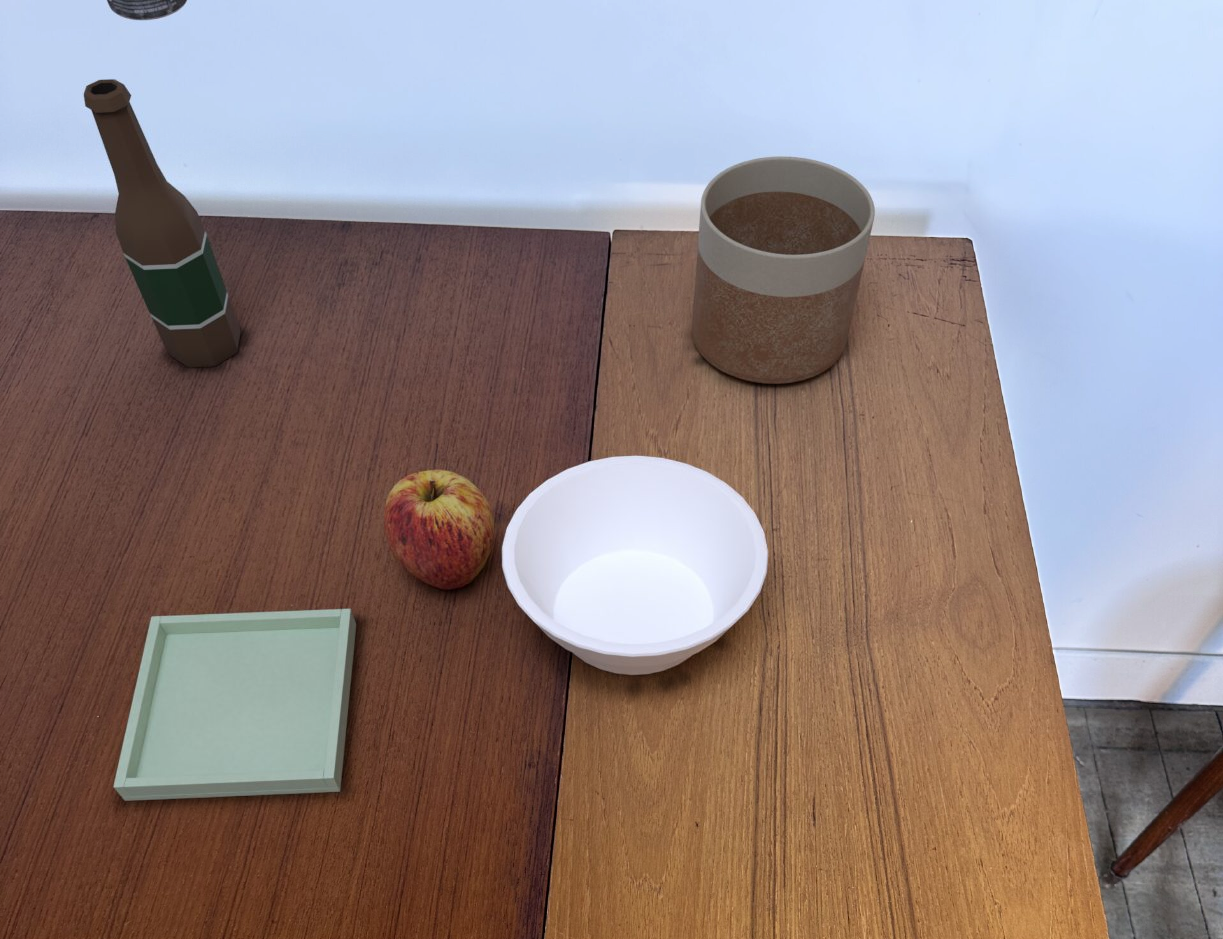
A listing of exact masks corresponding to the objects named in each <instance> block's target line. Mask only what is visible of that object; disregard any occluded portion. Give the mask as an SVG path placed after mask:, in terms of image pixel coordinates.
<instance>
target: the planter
mask: <svg viewBox="0 0 1223 939" xmlns="http://www.w3.org/2000/svg"><path fill="white" fill-rule="evenodd" d="M874 203H875V202H874V200H873V198H872V196H871V194H870V193H869V191H868V189H867V188H866V187H865V186H864V185H863V184H862V183H861V182H860V181H859V180H858V179H857V178H855V176H853V175H851V174H850V173H848V172H846V171H845V170H842V169H840V168H838V167H836V166H835V165H831V164H829V163H825V162H823V161H819V160H816V159H812V158H811V159H810V158H807V157H806V158H805V157H800V156H799V157H797V156H781V155H780V156H765V157H758V158H754V159H749V160H746V161H745V160H744V161H742V162H739V163H737V164H733V165H732V166H729V167H727V168H725V169H724V170H722V171H720V172H719V173H718V174H717V175H715V176H714V177H713V178H712V179H711V180H710V181H709V182H708V184H707V185H706V186H705V188H704V190H703V193H702V196H701V199H700V208H699V209H700V211H699V212H700V213H699V224H698V237H697V239H698V240H697V252H696V266H695V267H696V268H695V278H694V279H695V280H694V291H693V292H694V293H693V307H692V318H691V320H692V321H691V336H692V339H693V343H694V345H695V347H696V349H697V350H698V352H699V353H700V355H701V356H702V357H703V358H704V360H706V361H707V362H708V363H709V364H710V365H712V366H713V367H715V368H716V369H717V370H719V371H720V372H723V373H725V374H727V375H729V376H732V377H734V378H737V379H740V380H742V381H743V380H744V381H748V382H753V383H757V384H766V385H767V384H769V385H779V384H780V385H781V384H782V385H783V384H791V383H795V382H796V383H797V382H801V381H805V380H809V379H811V378H813V377H816V376H818V375H820V374H822V373H824V372H825V371H827V370H829V369H830V368H831V367H832V366H834V365H835V364H836V362H838V360H839V359H840V358H841V356H842V355H843V353H844V351H845V349H846V346H847V342H848V337H849V332H850V328H851V324H852V320H853V315H854V311H855V306H856V303H857V302H856V301H857V298H858V297H857V296H858V293H859V288H860V284H861V279H862V274H863V270H864V266H865V262H866V257H867V252H868V248H869V243H870V239H871V235H872V230H873V225H874V220H875V215H876V211H875V210H876V209H875V204H874Z"/></svg>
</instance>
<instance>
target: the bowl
mask: <svg viewBox="0 0 1223 939" xmlns="http://www.w3.org/2000/svg"><path fill="white" fill-rule="evenodd" d="M767 544H768V543H767V539H766V533H765V531H764V530H763V526H762V525H761V522H760V521H759V518H758V516H757V514H756V513H755V511H754V510H753V509H752V508H751V506H750V505H749V503H747V501H746V500H745V498H744V497H743V496H742V495H740V494H739V492H737V491H736V490H735V489H734V488H732V487H731V485H729V484H728V483H726V482H725V481H724V480H722V479H720V478H718V477H716V476H715V475H714V474H711V473H710V472H708V471H706V470H704V469H701V468H698V467H696V466H693V465H692V464H688V463H685V462H682V461H677V460H674V459H669V458H664V457H656V456H647V455H624V456H623V455H622V456H610V457H605V458H599V459H595V460H589V461H587V462H584V463H581V464H578V465H575V466H572V467H569V468H567V469H565V470H563V471H561V472H559V473H558V474H555V475H554V476H551V477H550V478H548V479H547V480H545V481H544V482H543V483H541V484H540V485H539V486H538V487H536V488H535V489H534V490H533V491H531V492H530V493H529V494H528V495H527V496H526V497H525V499H524V500H523V501H522V502H521V504H520V505H519V506H518V507H517V508H516V509H515V512H514V513H513V515H512V517H511V519H510V521H509V522H508V525H507V527H506V528H505V533H504V538H503V542H502V545H501V567H502V571H503V575H504V578H505V582H506V586H507V589H508V590H509V591H510V594H511V595H512V596H513V598H514V600H515V601H516V603H517V605H518V606H519V608H521V610H522V611H523V612H524V613H525V614H526V615H527V616H528V617H529V618H530V619H531V621H532V622H534V623H535V625H536V626H537V627H538V628H539V629H541V631H542V632H543V633H544V634H545V635H546V636H547V637H548V638H549V639H550V640H552V641H554V642H555V643H556V644H558V645H559V646H561V647H562V648H563V649H565V650H566V651H569V652H571V653H572V654H573V655H574V656H576V657H577V658H579V659H580V660H582V661H583V662H584V663H586V664H588V665H590V666H593V667H595V668H597V669H599V670H602V671H605V672H609V673H613V674H618V675H629V676H636V675H637V676H639V675H649V674H654V673H659V672H664V671H666V670H668V669H671V668H674V667H676V666H679V665H680V664H682V663H683V662H685V661H686V660H688V659H689V658H691V657H692V656H693V655H695V654H698V653H700V652H701V651H703V650H704V649H706V648H707V647H709V646H711V645H713V643H715V642H717V641H718V640H719V639H720V638H721V637H722V636H723V635H724V634H725V633H726V632H727V631H728V630H729V629H730V628H731V627H733V626H734V624H736V623H737V622H738V621H739V620H740V619H741V618H742V617H744V615H745V614H746V613H747V612H748V611H749V610H750V608H751V607H752V606H753V604H754V602H755V601H756V599H757V598H758V597H759V595H760V593H761V592H762V588H763V586H764V583H765V580H766V577H767V574H768V564H769V550H768V545H767Z"/></svg>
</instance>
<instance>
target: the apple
mask: <svg viewBox="0 0 1223 939" xmlns="http://www.w3.org/2000/svg"><path fill="white" fill-rule="evenodd" d="M383 526H384V532H385V533H384V534H385V538H386V542H387V544H388V547H389V549H390V551H391V552H392V554H393V556H394V558H395V559H396V560H397V562H398V563H399V564H400V565H401V567H403V568H404V570H405V571H407V572H408V573H409V574H410V575H412V576H413V577H414V578H415V579H417V580H419V581H421V582H422V583H424V584H427V585H429V586H432V587H434V588H437V589H440V590H446V591H447V590H448V591H449V590H455V589H460V588H463V587H464V586H466V585H468V584H470V583H471V582H473V581H474V579H475V578H476V577H477V576H478V575H479V574H480V572H482V570H483V568H484V567H485V565H486V563H487V561H488V558H489V557H490V554H491V551H492V549H493V548H492V547H493V545H494V540H495V530H496V529H495V519H494V515H493V512H492V508H491V505H490V504H489V501H488V500H487V498H486V497H485V495H484V494H483V493H482V491H481V490H480V489H479V488H478V487H477V486H476V485H475V484H474V483H473V482H471V481H470V480H469V479H468V478H466V477H465V476H463V475H461V474H458V473H456V472H453V471H450V470H445V469H429V470H428V469H427V470H422V471H418V472H413V473H411V474H408V475H406V476H404V477H403V478H401V479H400V480H399V481H398V482H397V483H396V484H394V486H393V487H392V489H391V490H390V492H389V493H388V495H387V498H386V501H385V504H384V511H383Z"/></svg>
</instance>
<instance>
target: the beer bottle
mask: <svg viewBox="0 0 1223 939" xmlns="http://www.w3.org/2000/svg"><path fill="white" fill-rule="evenodd" d="M131 98H132V94H131V93H130V91H129V90H128V88H127V87H126V84H124V83H122V82H120V81H119V80H118V79H115V78H108V79H98V80H95V81H94V82H91V83H89V84H87V85H86V86H85V89H84V92H83V100H84V101H83V102H84V106H85V107H86V108H87V109H88V110H90V111H91V113H92V116H93V120H94V122H95V124H96V127H97V130H98V133H99V136H100V139H101V142H102V145H103V147H104V150H105V153H106V156H107V159H108V161H109V164H110V167H111V170H112V173H113V176H114V180H115V184H116V188H117V193H118V196H117V201H116V207H115V211H114V223H115V224H114V225H115V234H116V237H117V240H118V242H119V245H120V249H121V251H122V254H123V256H124V258H125V261H126V263H127V265H128V267H129V270H130V272H131V275H132V276H133V280H134V281H135V283H136V286H137V288H138V290H139V292H140V294H141V297H142V299H143V302H144V304H145V306H146V308H147V311H148V313H149V315H150V318H151V320H152V322H153V324H154V326H155V329H156V332H157V334H158V335H159V338H160V340H161V342H162V344H163V346H164V348H165V349H166V351H167V354H169V355H170V356H171V357H172V358H174V359H175V360H176V361H178V362H179V363H180V364H182V365H184V366H185V367H186V368H188V369H189V368H190V369H191V368H212V367H217V366H219V365H220V364H222V363H224V362H225V361H227V360H228V359H230V358H232V357H233V356H235V355H236V354H238V350H239V345H240V338H241V334H242V332H241V329H240V328H241V327H240V325H239V321H238V319H237V315H236V312H235V309H234V306H233V304H232V300H231V298H230V295H229V293H228V290H227V287H226V285H225V281H224V279H223V275H222V273H221V270H220V267H219V265H218V262H217V258H216V256H215V254H214V251H213V248H212V245H211V243H210V240H209V237H208V234H207V231H206V228H205V227H204V224H203V222H202V220H201V218H200V214H199V213H198V211H197V210H196V208H195V207H194V206H193V205H192V202H190V201H189V199H188V198H187V197H186V195H184V194H183V193H182V192H181V191H179V189H177V188H176V187H175V186H173V185H172V183H170V182H169V181H168V180H167V178H166V177H165V175H164V173H163V172H162V170H161V168H160V166H159V165H158V163H157V160H156V158H155V155H154V154H153V152H152V149H151V147H150V144H149V142H148V140H147V138H146V136H145V133H144V131H143V129H142V127H141V124H140V122H139V120H138V118H137V115H136V113H135V111H134V109H133V107H132V104H131V102H130V101H131Z"/></svg>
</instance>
